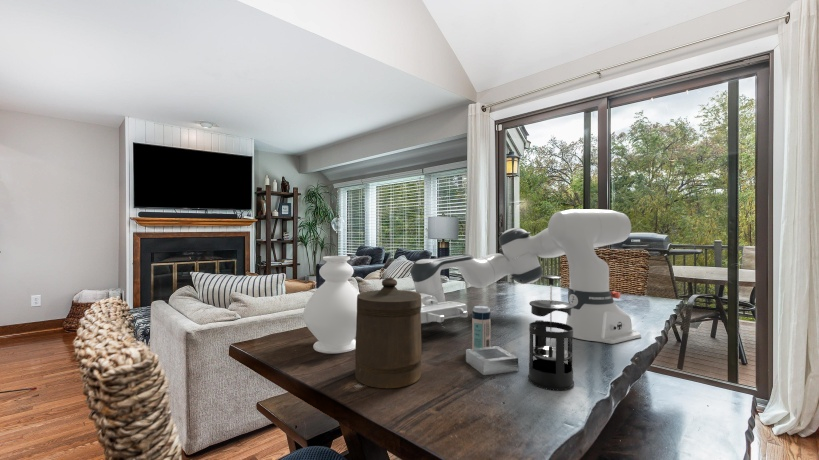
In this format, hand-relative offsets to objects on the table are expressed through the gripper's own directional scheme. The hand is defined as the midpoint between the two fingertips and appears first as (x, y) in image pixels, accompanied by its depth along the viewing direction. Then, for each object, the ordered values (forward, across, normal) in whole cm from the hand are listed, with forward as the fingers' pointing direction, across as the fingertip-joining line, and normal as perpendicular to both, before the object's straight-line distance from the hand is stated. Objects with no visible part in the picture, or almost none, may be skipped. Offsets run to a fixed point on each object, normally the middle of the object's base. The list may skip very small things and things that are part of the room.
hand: (454, 316), depth 109 cm
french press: (+33, +2, -7) cm, 34 cm away
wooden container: (+10, +29, -7) cm, 32 cm away
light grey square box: (+20, +6, -7) cm, 22 cm away
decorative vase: (-15, +30, -7) cm, 35 cm away
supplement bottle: (+11, 0, -7) cm, 13 cm away
